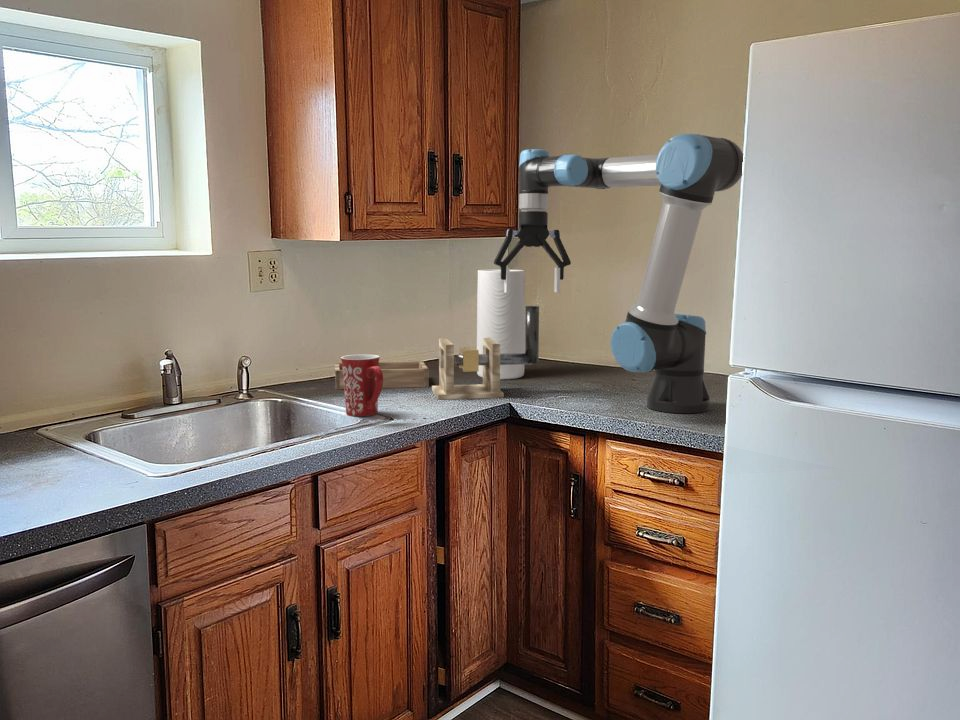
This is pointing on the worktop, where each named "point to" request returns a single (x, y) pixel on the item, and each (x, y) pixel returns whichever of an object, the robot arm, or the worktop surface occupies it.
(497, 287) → the paper towel roll
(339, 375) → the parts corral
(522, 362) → the shaft
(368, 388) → the mug
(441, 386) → the jig
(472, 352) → the block
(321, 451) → the worktop surface
